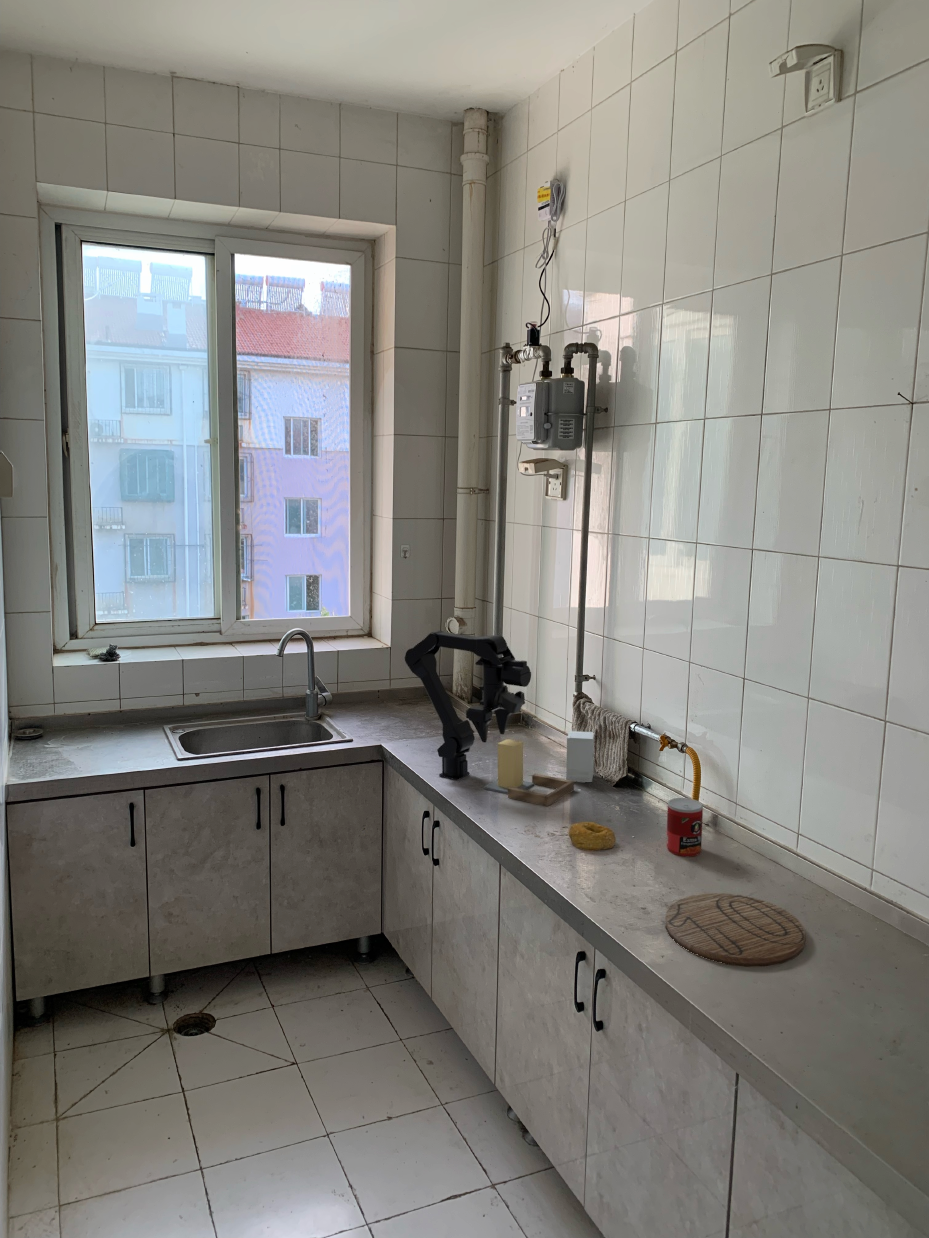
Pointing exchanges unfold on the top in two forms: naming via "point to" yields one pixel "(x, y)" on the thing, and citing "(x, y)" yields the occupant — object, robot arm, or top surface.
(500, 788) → the slate mat
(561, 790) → the frame
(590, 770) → the supplement box
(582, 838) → the bagel
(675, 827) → the canned food
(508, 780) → the ochre block
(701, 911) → the trivet
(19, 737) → the top surface
